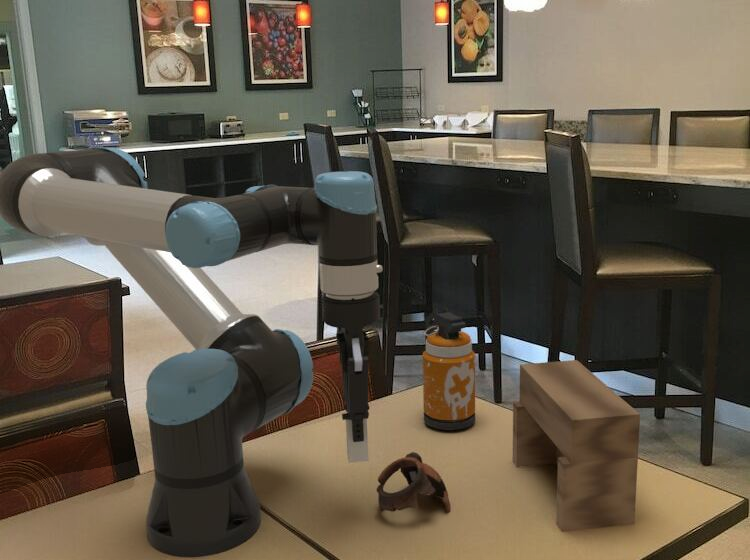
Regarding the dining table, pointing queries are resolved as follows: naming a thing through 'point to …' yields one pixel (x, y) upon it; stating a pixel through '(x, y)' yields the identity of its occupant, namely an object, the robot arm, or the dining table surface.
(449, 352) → the canister
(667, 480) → the dining table surface
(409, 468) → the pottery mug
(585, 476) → the hutch
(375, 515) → the dining table surface
